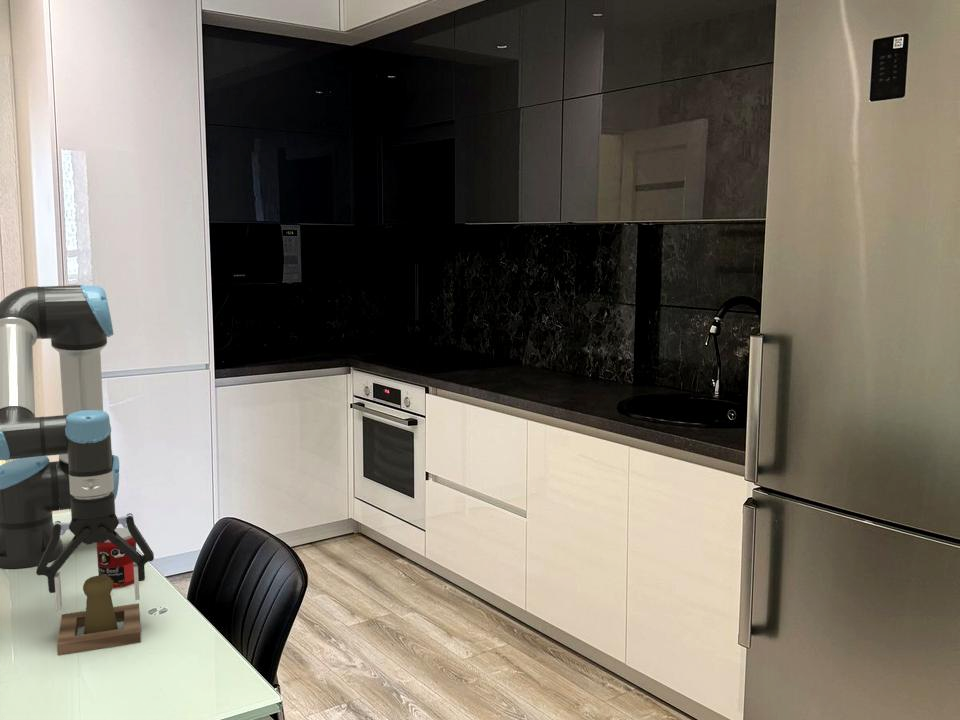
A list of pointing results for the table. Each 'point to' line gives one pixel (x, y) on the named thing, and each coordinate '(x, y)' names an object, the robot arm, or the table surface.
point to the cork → (99, 605)
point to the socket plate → (79, 643)
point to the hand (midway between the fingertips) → (99, 602)
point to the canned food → (116, 560)
